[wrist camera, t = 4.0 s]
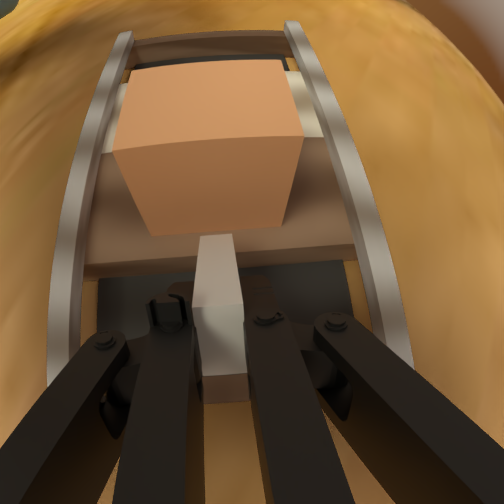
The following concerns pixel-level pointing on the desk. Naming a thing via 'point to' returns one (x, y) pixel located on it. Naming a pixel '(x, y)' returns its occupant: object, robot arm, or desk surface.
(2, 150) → the desk surface
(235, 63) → the terracotta block
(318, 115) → the rail track section
